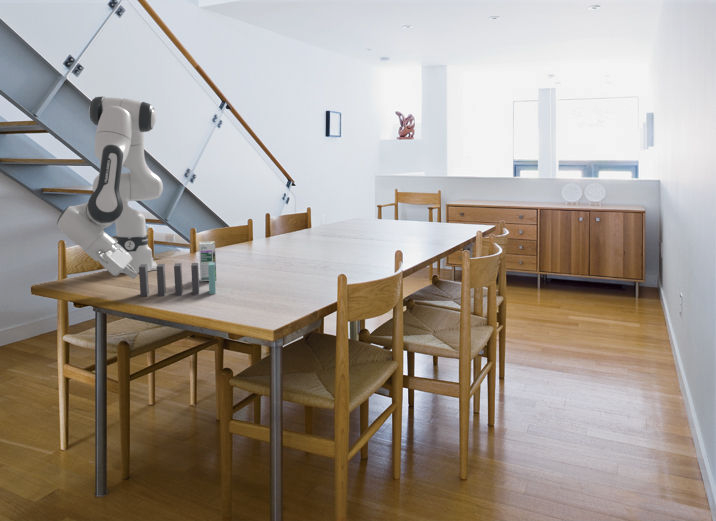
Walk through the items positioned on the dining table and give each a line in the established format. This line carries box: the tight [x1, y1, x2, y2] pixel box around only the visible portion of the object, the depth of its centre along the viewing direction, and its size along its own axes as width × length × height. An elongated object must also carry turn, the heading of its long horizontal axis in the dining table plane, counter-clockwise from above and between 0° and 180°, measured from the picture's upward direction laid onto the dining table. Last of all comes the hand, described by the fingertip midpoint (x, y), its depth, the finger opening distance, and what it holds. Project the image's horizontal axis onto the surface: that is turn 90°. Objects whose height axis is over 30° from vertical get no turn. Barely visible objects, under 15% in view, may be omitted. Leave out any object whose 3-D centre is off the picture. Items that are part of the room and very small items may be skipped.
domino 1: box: [138, 264, 150, 298], centre depth 191 cm, size 2×5×10 cm, turn 13°
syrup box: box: [198, 241, 217, 283], centre depth 214 cm, size 6×6×14 cm
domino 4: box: [190, 262, 200, 296], centre depth 194 cm, size 2×5×10 cm, turn 13°
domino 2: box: [156, 263, 167, 297], centre depth 192 cm, size 2×5×10 cm, turn 12°
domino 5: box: [208, 262, 217, 295], centre depth 196 cm, size 2×5×10 cm, turn 12°
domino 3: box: [173, 262, 184, 296], centre depth 193 cm, size 2×5×10 cm, turn 12°
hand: (136, 276), depth 190 cm, fingers closed
